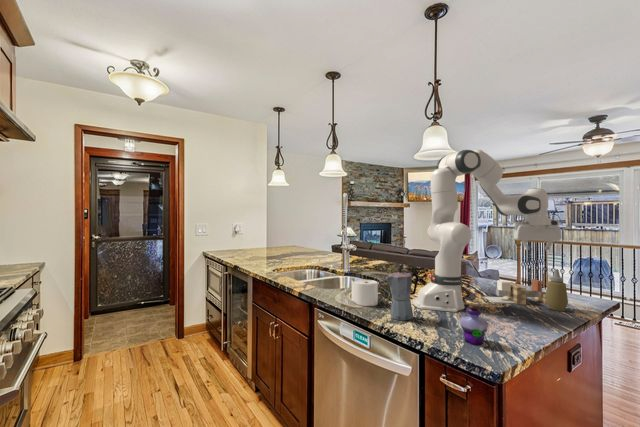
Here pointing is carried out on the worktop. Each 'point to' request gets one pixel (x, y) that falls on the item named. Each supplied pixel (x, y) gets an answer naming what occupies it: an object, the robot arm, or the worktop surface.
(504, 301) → the mat
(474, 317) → the potion bottle
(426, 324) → the worktop surface
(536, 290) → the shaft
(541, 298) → the rear saddle
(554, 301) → the squeeze bottle
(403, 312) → the moka pot
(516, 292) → the bearing block
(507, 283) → the block
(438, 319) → the worktop surface
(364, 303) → the toilet tissue
